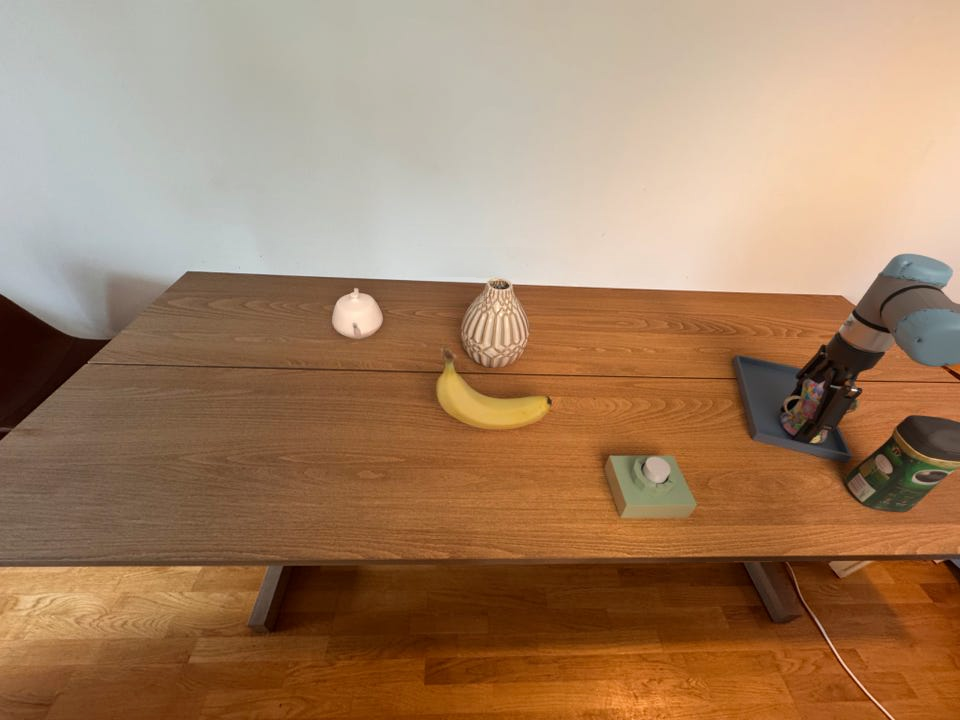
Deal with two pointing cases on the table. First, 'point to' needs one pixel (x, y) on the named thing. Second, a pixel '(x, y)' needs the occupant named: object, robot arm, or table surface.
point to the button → (656, 470)
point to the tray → (778, 407)
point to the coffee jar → (907, 464)
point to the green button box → (648, 489)
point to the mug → (807, 409)
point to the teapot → (357, 315)
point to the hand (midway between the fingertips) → (792, 426)
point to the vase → (495, 326)
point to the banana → (485, 402)
